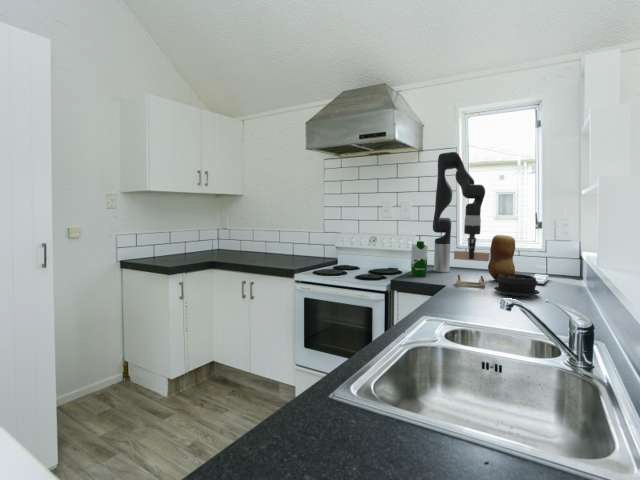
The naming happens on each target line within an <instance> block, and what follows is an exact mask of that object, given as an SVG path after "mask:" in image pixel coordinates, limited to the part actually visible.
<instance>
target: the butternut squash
mask: <svg viewBox="0 0 640 480" xmlns="http://www.w3.org/2000/svg"><path fill="white" fill-rule="evenodd" d="M515 250H516V240H515V238H514V237H513V236H511V235H504V234H496V235H494V236H493V238H492V239H491V244H490V249H489V254H490V258H489V261H488V265H487V271H488V273H489V275H490V277H491V278H492V279H494V281H496V282H497V283H498V281H497V280H496V279H497V278H498V277H499V275H500V274H516V266H515V263H514V260H513V259H514V255H515Z"/></svg>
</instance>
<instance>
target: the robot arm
mask: <svg viewBox="0 0 640 480" xmlns="http://www.w3.org/2000/svg"><path fill="white" fill-rule="evenodd" d="M453 169H456V173H455V181H456V183H457V184H458V185H459V186H460V189H461V194H462V196H463V197H464V198H466V199H470V200H471V199H474V200H473V201H472V203H467V204H465V205H466V206H465V217H464V225H463V227H464V230H463V231H464V234H465V235H469V237H467V249H468V250H467V251H470V252H469V259H474V252H476V249H475V248H476V246H477V245H476V244H477V243H476V242H477V237H476V235H480V234H481V227H482V226H481V224H482V219H481V212H482V204H483V202H484V199H485V195H486V188H485V187H484V185H482V184H475V179H474V178H473V177H472V176H471V175H470V173H469V172H468V170H467V169H466V166H465V164H464V162H463V160H462V158H461V156H460V154H459V153H458V152H456V151H450V152H442V153H440V154H439V155H438V157H437V182H436V183H437V184H436V192H435V203H434V204H435V208H434V214H433V220H432V231H433V232H434V233H439V234H440V233H443V234H444V235H442V236H440V237H438V238H435V239H434V254H433V255H434V256H433V257H434V258H433V271H434V272H437V273H450V263H451V262H450V261H451V259H450V257H451V235H452V219H451V217H450V218H449V217H441V215H442V214H443V212H444V211H445V210H446V208H447V207H448V206H450V204H451V202H452V200H453V192H454V190H453V186H452V185H451V183H450V182H449V181H448V179H447V176H446V171H447V170H453Z"/></svg>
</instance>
